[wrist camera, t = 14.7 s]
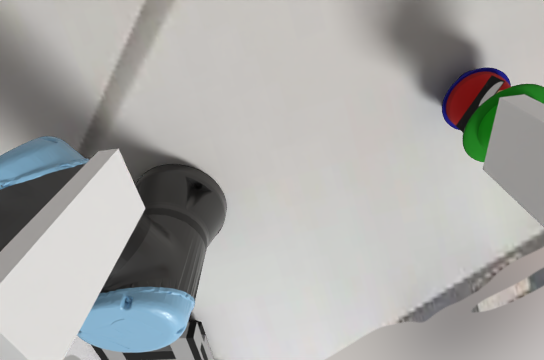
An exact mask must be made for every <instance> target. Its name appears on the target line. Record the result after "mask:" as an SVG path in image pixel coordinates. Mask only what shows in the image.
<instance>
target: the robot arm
mask: <svg viewBox="0 0 544 360" xmlns="http://www.w3.org/2000/svg"><path fill="white" fill-rule="evenodd" d="M483 170H484V171H485V172H486V173H487V174H488V175H489V176H490V177H491V178H493V179H494V180H495V181H496V182H497V183H498V184H499V185H500V186H501V187H502V188H503V189H504V190H505V191H506V192H507V193H508V194H509V195H510V196H511V197H512V198H514V199H515V200H516V201H517V202H518V203H519V204H520V205H521V206H522V207H523V208H524V209H525V210H526V211H527V212H528V213H529V214H530V215H531V216H532V217H534V218H535V219H536V220H537V221H538V222H539V223H540V224H541V225H542V226H543V227H544V104H543V103H541V102H539V101H537V100H535V99H533V98H531V97H529V96H527V95H525V94H523V95H515V96H508V97H500V98H499V103H498V107H497V111H496V115H495V120H494V124H493V128H492V132H491V136H490V141H489V145H488V149H487V153H486V157H485V162H484V166H483ZM226 210H227V204H226V199H225V196H224V193H223V192H222V190H221V188H220V187H219V185H218V184H217V183H216V182H215V181H214V180H213V179H212V178H210V177H209V176H208V175H206V174H205V173H203V172H201V171H199V170H197V169H195V168H192V167H188V166H184V165H174V164H172V165H162V166H158V167H155V168H153V169H151V170H149V171H147V172H146V173H145V174H144V175H142V176H141V178H140V179H139V180H138V182H137V183H136V185H135V184H134V182H133V180H132V177H131V175H130V173H129V171H128V169H127V166H126V164H125V162H124V160H123V157H122V155H121V153H120V151H119V148H118V149H110V150H103V151H98V152H97V153H96V154H95V155H94V156H93V157H92V158H91V159H90V160H89V159H86V158H84V157H83V156H82V155H80V154H79V153H78V152H77V151H76V150H74V149H73V148H72V147H71V146H70V145H68V144H67V143H66V142H65V141H63V140H61V139H59V138H57V137H52V136H45V137H39V138H36V139H34V140H31V141H29V142H27V143H25V144H22V145H20V146H18V147H16V148H14V149H12V150H10V151H8V152H6V153H4V154H3V155H1V156H0V360H64V358H65V356H66V354H67V353H68V351H69V349H70V347H71V345H72V343H73V342H74V340H75V338H76V336H77V335H78V336H79V337H80V338H81V339H82V340H84V341H85V342H87V343H89V344H91V345H93V346H96V347H99V348H102V349H106V350H111V351H116V352H128V353H129V352H133V353H137V352H148V351H153V350H157V349H160V348H163V347H166V346H168V345H170V344H171V343H173V342H175V341H176V340H177V339H178V338H179V337H180V336H181V335H182V334H183V332H184V331H185V329H186V326H187V323H188V320H189V317H190V314H191V311H192V310H193V308H194V304H195V298H196V294H197V289H198V285H199V280H200V275H201V271H202V266H203V262H204V257H205V253H206V249H207V247H208V246H209V244H210V243H211V242H212V240H213V239H214V237H215V236H216V235H217V234H218V233H219V231H220V230H221V228H222V226H223V224H224V220H225V216H226Z"/></svg>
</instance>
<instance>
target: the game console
mask: <svg viewBox="0 0 544 360" xmlns="http://www.w3.org/2000/svg"><path fill="white" fill-rule="evenodd" d="M92 347H93V348H94V350H95V351H96V353H97V354H98V355H99V357H100V358H101V360H214V358H213V355H212V352H211V349H210V346H209V343H208V340H207V337H206V334H205V331H204V329H203V326H202V323H201V322H198V321H194V322H188V323H187V326H186V329H185V331H184V332H183V334H182V335H181V336H180V337H179V338H178V339H177V340H176V341H175V342H173V343H171V344H170V345H168V346H166V347H163V348H160V349H157V350H153V351H148V352H137V353H133V352H129V353H128V352H116V351H111V350H106V349H102V348H99V347H96V346H93V345H92Z"/></svg>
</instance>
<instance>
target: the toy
mask: <svg viewBox="0 0 544 360" xmlns="http://www.w3.org/2000/svg"><path fill="white" fill-rule="evenodd" d="M523 94H525V95H527V96H529V97H531V98H533V99H535V100H537V101H539V102H541V103H543V104H544V87H542V86H539V85H536V84H521V85H516V86H512V87H511V84H510V81H509V79H508V77H507V76H506V75H505V74H504V73H503V72H501V71H500V70H497V69H494V68H480V69H476V70H473V71H468V72H466V73H464V74H463V75H461V76H460V77H459V79H458V80H457V81H456V82H455V83H454V84H453V85H452V86H451V87H450V89H449V90H448V92H447V94H446V95H445V98H444V100H443V105H442V113H443V117H444V119H445V121H446V122H447V123H448V124H449V125H450V126H451V127H453V128H455V129H458V130H461V131H462V132H463V146H464V149H465V151H466V153H467V154H468V155H469V156H470V157H471V158H473V159H475V160H477V161H480V162H485V157H486V153H487V149H488V145H489V141H490V136H491V132H492V128H493V124H494V120H495V115H496V111H497V107H498V103H499V98H500V97H508V96H515V95H523Z"/></svg>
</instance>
